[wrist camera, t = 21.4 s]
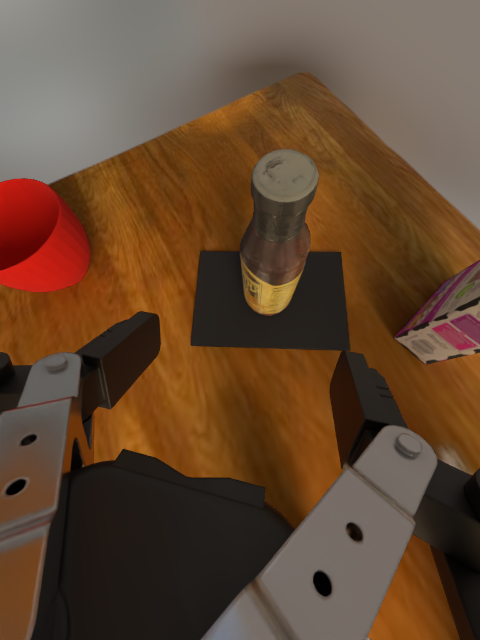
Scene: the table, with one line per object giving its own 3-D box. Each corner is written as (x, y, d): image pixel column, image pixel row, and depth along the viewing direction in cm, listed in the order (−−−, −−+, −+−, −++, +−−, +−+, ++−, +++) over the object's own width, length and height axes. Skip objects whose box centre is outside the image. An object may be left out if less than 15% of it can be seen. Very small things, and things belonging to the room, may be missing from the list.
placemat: (340, 253, 36) (341, 251, 35) (349, 350, 31) (350, 350, 31) (201, 252, 37) (200, 251, 37) (191, 345, 33) (190, 345, 33)
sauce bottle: (242, 278, 35) (226, 133, 16) (287, 273, 35) (324, 121, 16) (246, 323, 33) (235, 216, 14) (294, 318, 33) (347, 203, 14)
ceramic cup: (7, 240, 40) (-70, 190, 31) (111, 226, 40) (66, 170, 30) (-9, 317, 36) (-104, 286, 26) (107, 301, 36) (53, 265, 26)
